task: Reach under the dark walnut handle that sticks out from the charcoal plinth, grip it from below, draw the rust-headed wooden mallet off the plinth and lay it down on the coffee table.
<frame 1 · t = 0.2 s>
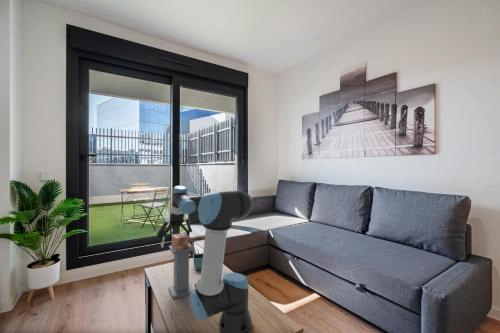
hand: (173, 244, 138), 27 cm above the table, tool tilted 15°, fingers open, 13 cm apart
plinth: (181, 291, 136), on the table
flower pot: (199, 268, 167), on the table
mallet: (179, 247, 135), point 26 cm above the table, touching plinth
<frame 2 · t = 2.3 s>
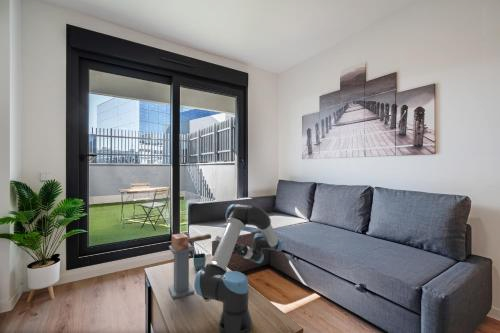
hand: (219, 240, 148), 26 cm above the table, tool pointing upward, fingers open, 13 cm apart
nothing on the table moved.
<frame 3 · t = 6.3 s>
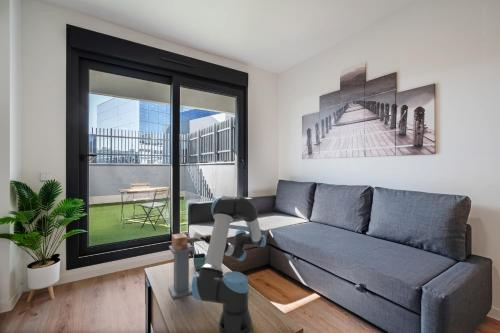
hand: (195, 234, 140), 32 cm above the table, tool pointing upward, fingers closed on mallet, 2 cm apart
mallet: (179, 247, 135), point 26 cm above the table, touching gripper, plinth
everything else where it was.
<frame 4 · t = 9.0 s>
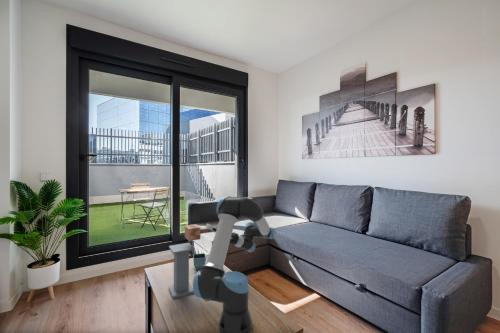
hand: (207, 225, 145), 36 cm above the table, tool pointing upward, fingers closed on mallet, 2 cm apart
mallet: (192, 238, 140), point 30 cm above the table, touching gripper
everything else where it was.
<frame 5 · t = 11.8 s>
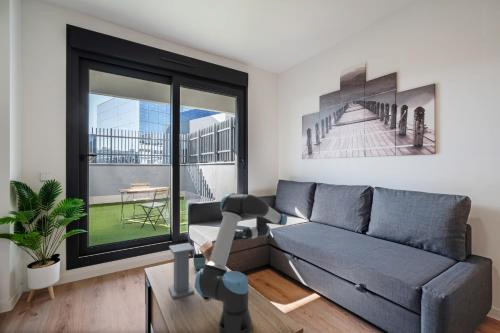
hand: (218, 238, 148), 28 cm above the table, tool horizontal, fingers closed on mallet, 2 cm apart
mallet: (210, 255, 145), point 18 cm above the table, tilted 30°, touching gripper
everything else where it was.
when the fingers open (13 cm above the table, at t = 15.8 s): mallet drops 3 cm, on the table.
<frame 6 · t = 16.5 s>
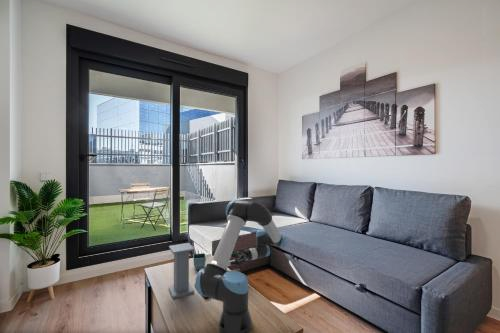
hand: (221, 260, 149), 13 cm above the table, tool horizontal, fingers open, 12 cm apart
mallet: (212, 283, 146), on the table
everything else where it was.
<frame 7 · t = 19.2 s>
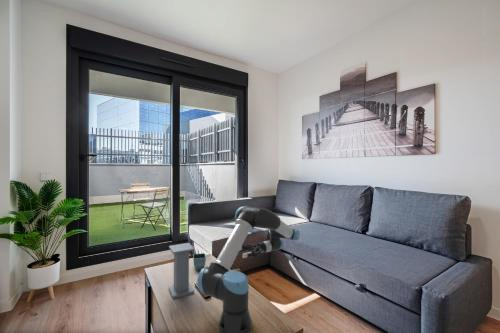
hand: (237, 252, 155), 16 cm above the table, tool horizontal, fingers open, 13 cm apart
nothing on the table moved.
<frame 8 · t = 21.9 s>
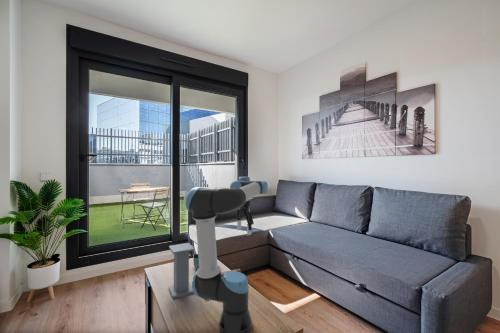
hand: (244, 232, 151), 31 cm above the table, tool pointing down, fingers open, 13 cm apart
nothing on the table moved.
at the end: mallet inside the target area (1.0 cm from its centre), on the table; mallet touching table; the gripper is holding nothing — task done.
